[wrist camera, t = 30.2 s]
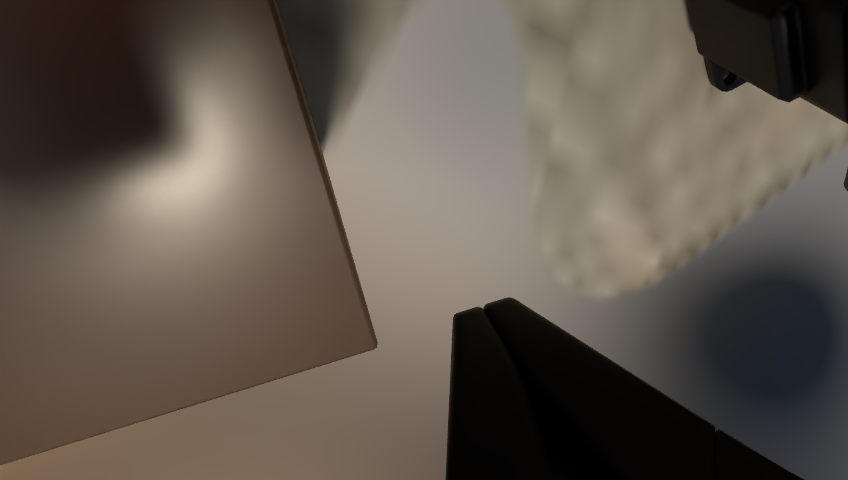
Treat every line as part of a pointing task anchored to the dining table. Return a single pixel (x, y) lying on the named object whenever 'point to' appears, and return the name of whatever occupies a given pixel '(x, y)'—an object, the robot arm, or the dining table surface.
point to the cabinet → (159, 216)
